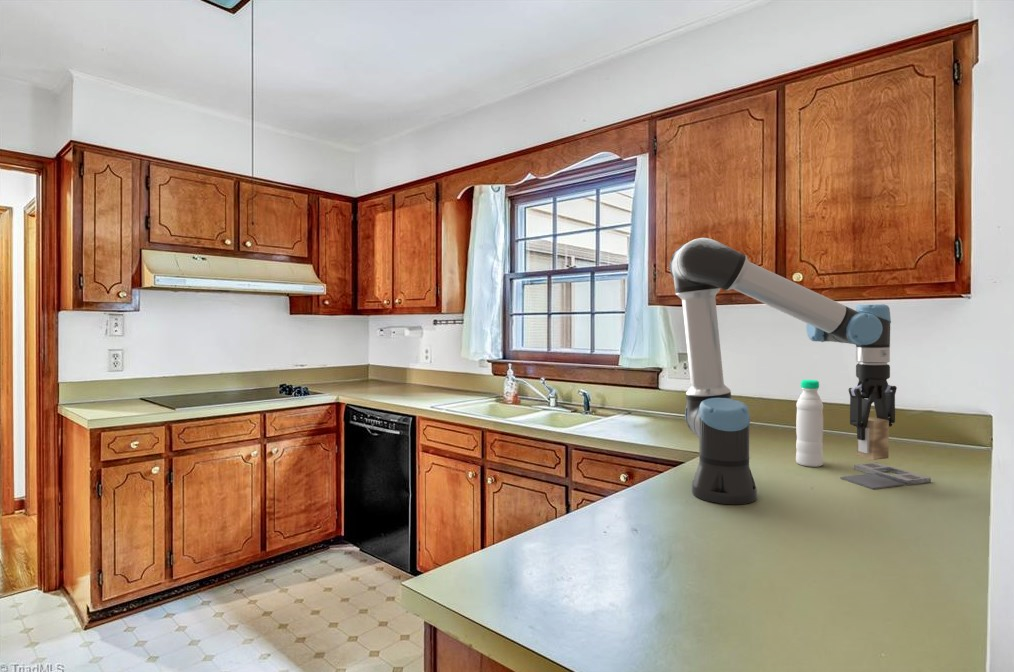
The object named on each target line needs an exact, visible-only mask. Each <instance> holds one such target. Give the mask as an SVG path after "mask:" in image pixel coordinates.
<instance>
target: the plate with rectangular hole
mask: <svg viewBox="0 0 1014 672" xmlns="http://www.w3.org/2000/svg"><path fill="white" fill-rule="evenodd" d="M853 470H857V471H860V472H863V473H866V474H873V475H876V476H879V477H882V478H886V479H889V480H892V481H895V482H899V483H902V484H904V486H910V485H911V486H912V485H922V484H928V483H931V479H932V478H931V477H930V476H929V477H928V476H926V475H923V474H922V475H921V474H918V473H915V472H912V471H908V470H904V469H901V468H897V467H894V466H890V465H886V464H884V463H881V462H867V463H859V464H854V465H853ZM887 472H891V473H894V474H889V473H887Z"/></svg>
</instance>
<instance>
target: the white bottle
mask: <svg viewBox="0 0 1014 672" xmlns="http://www.w3.org/2000/svg"><path fill="white" fill-rule="evenodd" d="M800 389H801V390H802V393H801V394H800V395H799V398H797V401H796V404H795V405H796V418H795V420H796V422H795V425H796V427H795V428H796V429H795V431H796V441H795V447H796V452H795V453H796V454H795V462H796V463H797V464H798V465H800V466H804V467H810V468H814V467H815V468H818V467H821V466H822V465H823V464H824V456H823V450H824V449H823V448H824V443H823V438H824V437H823V436H824V414H823V410H824V404H823V401H822V399H821V397H820V395H819V393H818V391H819V389H820V381H818V380H816V379H802V380H801V381H800Z"/></svg>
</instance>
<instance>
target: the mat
mask: <svg viewBox="0 0 1014 672" xmlns="http://www.w3.org/2000/svg"><path fill="white" fill-rule="evenodd" d="M840 479H841V480H844V481H847V482H851V483H853V484H856V485H859V486H862V487H865V488H868V489H869V490H870V489H871V490H878V489H879V490H880V489H887V488H888V489H889V488H895V487H904V486H905V485H904V484H902V483H899V482H895V481H892V480H889V479H886V478H882V477H879V476H876V475H873V474H869V473H866V474H865V473H864V474H863V473H862V474H854V475H846V476H840Z"/></svg>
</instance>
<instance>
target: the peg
mask: <svg viewBox="0 0 1014 672" xmlns="http://www.w3.org/2000/svg"><path fill="white" fill-rule="evenodd" d="M861 423H862V422H861ZM866 428H869V453H864V452H860V451H858V439H857V438H856V456H858V457H861V458H865V459H868V460H871V461H877V460H886V459H889V451H890V449H889V448H890V447H889V441H890V439H889V437H890V435H889V434H890V433H889V432H890V427H889V420H885V419H880V418H877V417H874V416H869V419H868V423H867V427H866Z"/></svg>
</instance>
